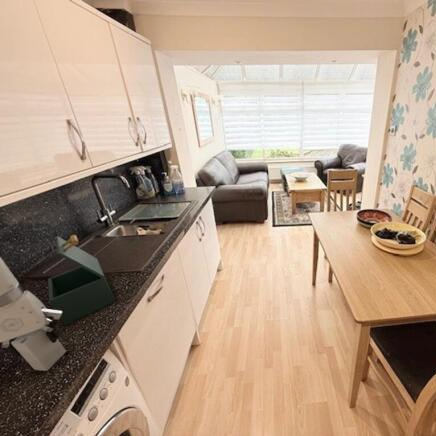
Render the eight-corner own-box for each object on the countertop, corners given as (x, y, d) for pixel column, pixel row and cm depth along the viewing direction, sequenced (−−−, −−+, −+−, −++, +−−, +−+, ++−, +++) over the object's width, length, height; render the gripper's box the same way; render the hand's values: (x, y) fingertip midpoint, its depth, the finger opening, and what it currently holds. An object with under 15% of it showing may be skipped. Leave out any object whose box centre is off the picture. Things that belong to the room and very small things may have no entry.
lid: (57, 254, 75) (72, 242, 77) (55, 237, 86) (68, 227, 88) (102, 278, 85) (114, 266, 87) (95, 260, 96) (106, 250, 98)
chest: (65, 325, 81) (49, 301, 76) (62, 300, 92) (47, 278, 88) (115, 300, 90) (104, 278, 86) (107, 281, 101) (96, 260, 97)
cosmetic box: (55, 351, 72) (33, 322, 67) (68, 351, 72) (47, 323, 67) (33, 371, 67) (8, 342, 61) (47, 372, 66) (23, 343, 61)
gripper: (-63, 323, 52) (-12, 373, 60) (41, 291, 59) (74, 340, 67) (-41, 301, 58) (2, 350, 66) (51, 275, 65) (80, 321, 73)
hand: (38, 344), depth 66 cm, fingers closed on cosmetic box, 6 cm apart
